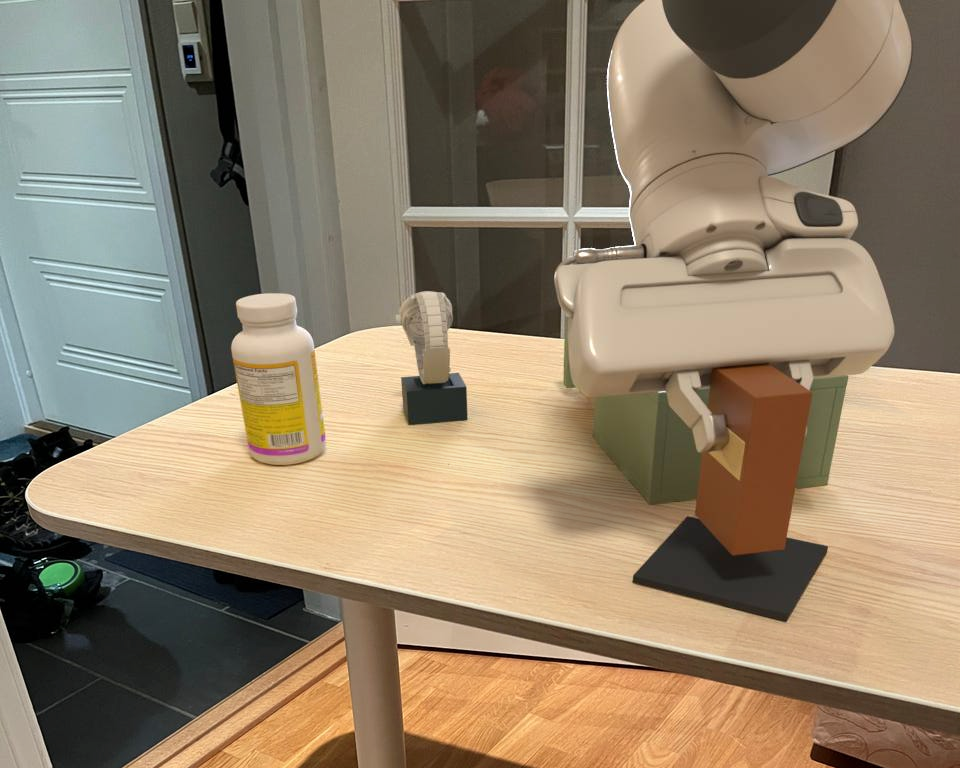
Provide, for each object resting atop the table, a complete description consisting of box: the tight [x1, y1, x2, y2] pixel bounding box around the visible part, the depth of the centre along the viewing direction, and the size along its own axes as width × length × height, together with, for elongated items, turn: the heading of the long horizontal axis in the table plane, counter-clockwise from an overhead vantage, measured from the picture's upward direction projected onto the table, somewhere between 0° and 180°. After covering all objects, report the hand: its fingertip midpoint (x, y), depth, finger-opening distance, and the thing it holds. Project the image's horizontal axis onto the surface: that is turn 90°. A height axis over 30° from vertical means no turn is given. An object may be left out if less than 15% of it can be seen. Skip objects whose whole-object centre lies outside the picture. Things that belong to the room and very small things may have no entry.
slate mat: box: [632, 515, 829, 622], centre depth 62 cm, size 10×10×1 cm
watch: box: [395, 290, 468, 426], centre depth 85 cm, size 6×8×11 cm
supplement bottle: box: [230, 292, 327, 466], centre depth 78 cm, size 7×7×13 cm
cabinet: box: [592, 375, 849, 505], centre depth 75 cm, size 15×15×9 cm
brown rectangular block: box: [694, 363, 812, 556], centre depth 57 cm, size 6×4×10 cm, turn 11°
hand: (753, 444), depth 57 cm, fingers closed on brown rectangular block, 4 cm apart
